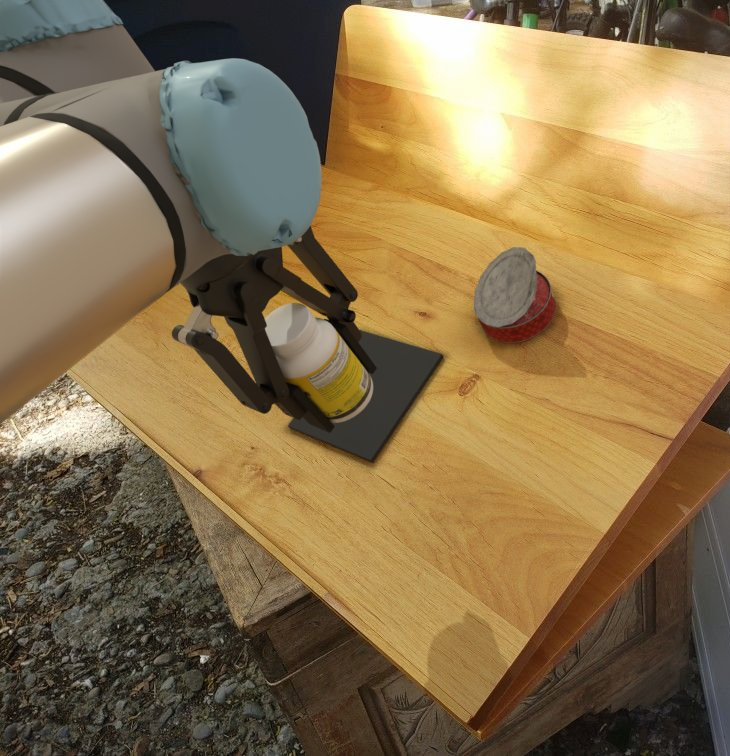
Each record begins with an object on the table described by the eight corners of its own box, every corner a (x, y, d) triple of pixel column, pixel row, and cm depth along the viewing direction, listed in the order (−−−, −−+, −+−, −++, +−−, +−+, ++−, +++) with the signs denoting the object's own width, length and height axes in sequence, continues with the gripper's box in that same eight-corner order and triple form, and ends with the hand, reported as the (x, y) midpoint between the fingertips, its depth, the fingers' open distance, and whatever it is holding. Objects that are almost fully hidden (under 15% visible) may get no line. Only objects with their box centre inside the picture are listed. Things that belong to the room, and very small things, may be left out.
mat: (372, 463, 78) (370, 460, 78) (289, 428, 85) (287, 425, 85) (443, 356, 85) (442, 353, 84) (361, 332, 92) (359, 329, 91)
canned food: (556, 351, 86) (542, 336, 76) (480, 347, 89) (457, 333, 79) (563, 264, 87) (549, 239, 78) (488, 263, 90) (465, 238, 80)
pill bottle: (305, 399, 66) (238, 327, 57) (357, 360, 67) (299, 284, 58) (332, 437, 62) (265, 366, 53) (386, 395, 63) (329, 319, 54)
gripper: (242, 117, 52) (371, 312, 70) (54, 300, 44) (253, 467, 62) (309, 124, 48) (428, 328, 66) (117, 326, 41) (310, 495, 58)
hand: (343, 395), depth 64 cm, fingers closed on pill bottle, 6 cm apart
